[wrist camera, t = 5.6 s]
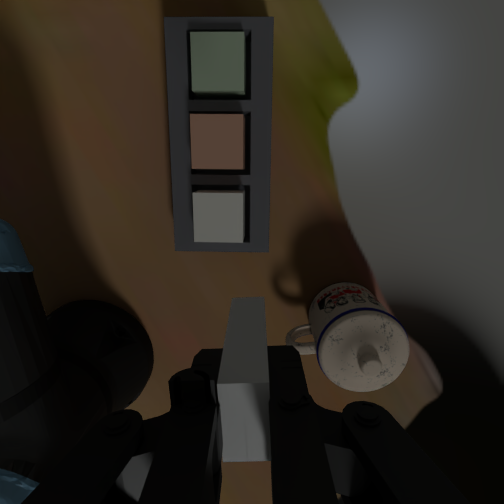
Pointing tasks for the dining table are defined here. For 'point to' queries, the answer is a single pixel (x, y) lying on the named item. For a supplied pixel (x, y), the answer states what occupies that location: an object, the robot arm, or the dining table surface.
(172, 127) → the button panel
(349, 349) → the teacup with lid
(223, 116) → the terracotta button
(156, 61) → the dining table surface
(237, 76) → the green button
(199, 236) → the white button
